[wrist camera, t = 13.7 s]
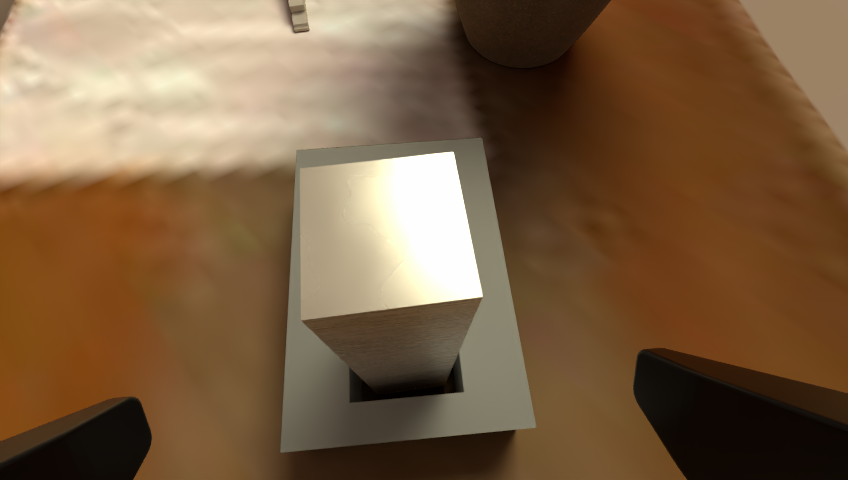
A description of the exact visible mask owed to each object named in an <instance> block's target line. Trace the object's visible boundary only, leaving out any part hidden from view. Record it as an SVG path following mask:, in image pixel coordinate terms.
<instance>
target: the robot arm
mask: <svg viewBox="0 0 848 480" xmlns="http://www.w3.org/2000/svg"><path fill="white" fill-rule="evenodd" d="M633 390H634V395H635V398H636V401H637V403H638V405H639V406H640V408H641V409H642V411H643V413H644V414H645V416H646V417H647V419H648V421H649V422H650V424H651V425H652V427H653V429H654V430H655V432H656V433H657V435H658V436H659V438H660V440H661V441H662V443H663V444H664V446H665V448H666V449H667V451H668V452H669V454H670V456H671V457H672V459H673V460H674V462H675V463H676V465H677V466H678V468H679V469H680V471H681V472H682V473H683V475H684V476H685V477H686V479H687V480H848V393H844V392H840V391H836V390H832V389H828V388H824V387H820V386H816V385H812V384H807V383H803V382H799V381H795V380H791V379H787V378H783V377H779V376H775V375H771V374H767V373H763V372H759V371H754V370H750V369H746V368H742V367H738V366H734V365H730V364H726V363H722V362H718V361H714V360H710V359H706V358H701V357H697V356H693V355H689V354H685V353H681V352H677V351H673V350H669V349H665V348H653V349H643V350H641V351H640V352H639V353H638V355H637V360H636V368H635V376H634V384H633ZM151 440H152V436H151V430H150V427H149V425H148V422H147V419H146V416H145V413H144V410H143V407H142V405H141V402H140V401H139V399H137V398H136V397H120V398H112V399H108V400H106V401H103V402H101V403H98V404H95V405H93V406H90V407H88V408H85V409H83V410H80V411H77V412H75V413H72V414H70V415H67V416H65V417H62V418H59V419H57V420H54V421H52V422H49V423H47V424H44V425H41V426H39V427H36V428H34V429H31V430H29V431H26V432H24V433H21V434H18V435H16V436H13V437H11V438H8V439H6V440H3V441H0V480H133V479H134V477H135V475H136V473H137V472H138V470H139V468H140V466H141V464H142V462H143V460H144V459H145V457H146V455H147V453H148V451H149V449H150V445H151Z"/></svg>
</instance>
